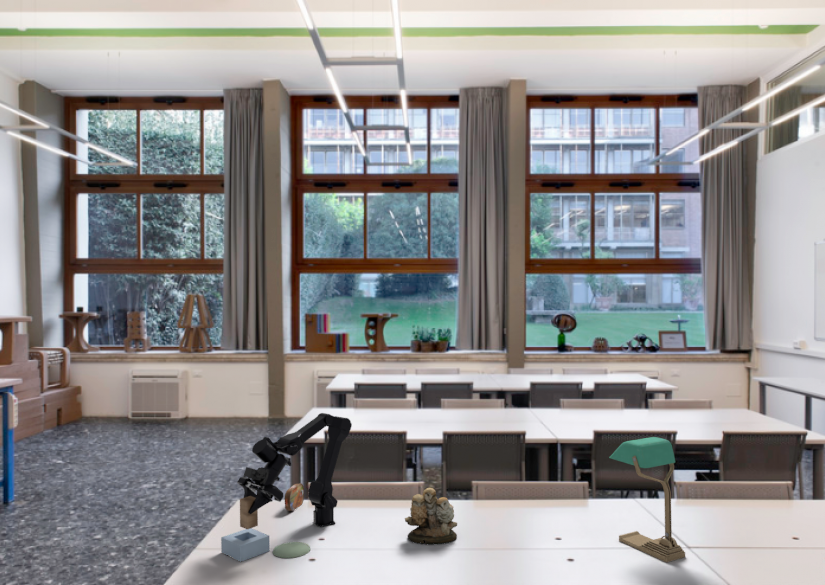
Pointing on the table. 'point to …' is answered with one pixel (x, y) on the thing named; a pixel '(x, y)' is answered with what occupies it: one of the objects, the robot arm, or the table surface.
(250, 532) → the slate-blue holder
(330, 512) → the robot arm
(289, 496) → the tin
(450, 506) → the owl figurine
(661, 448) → the banker's lamp
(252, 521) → the walnut peg
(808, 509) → the table surface
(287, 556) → the sage-green mat
